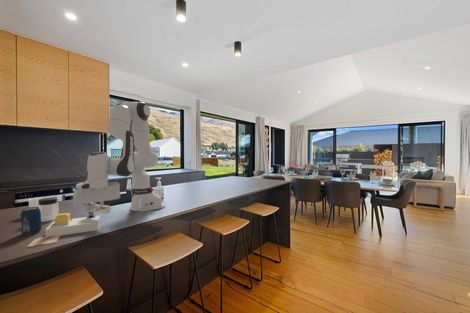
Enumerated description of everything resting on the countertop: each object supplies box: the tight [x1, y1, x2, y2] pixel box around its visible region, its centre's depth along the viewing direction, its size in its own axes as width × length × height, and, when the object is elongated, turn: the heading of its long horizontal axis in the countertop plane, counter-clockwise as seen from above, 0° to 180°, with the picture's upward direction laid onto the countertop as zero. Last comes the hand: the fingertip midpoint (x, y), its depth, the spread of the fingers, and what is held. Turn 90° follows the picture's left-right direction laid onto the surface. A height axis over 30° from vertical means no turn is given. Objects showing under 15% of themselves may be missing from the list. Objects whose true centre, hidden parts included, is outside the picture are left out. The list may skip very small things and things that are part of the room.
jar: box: [38, 196, 60, 223], centre depth 119 cm, size 9×8×12 cm
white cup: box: [28, 196, 47, 208], centre depth 128 cm, size 8×8×10 cm
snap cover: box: [54, 212, 71, 225], centre depth 101 cm, size 5×5×5 cm
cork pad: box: [27, 235, 61, 248], centre depth 91 cm, size 9×9×1 cm
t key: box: [84, 203, 112, 217], centre depth 109 cm, size 3×15×7 cm, turn 72°
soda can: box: [20, 206, 42, 236], centre depth 100 cm, size 7×7×12 cm
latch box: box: [44, 215, 101, 237], centre depth 104 cm, size 20×12×5 cm, turn 118°
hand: (98, 210), depth 105 cm, fingers closed
